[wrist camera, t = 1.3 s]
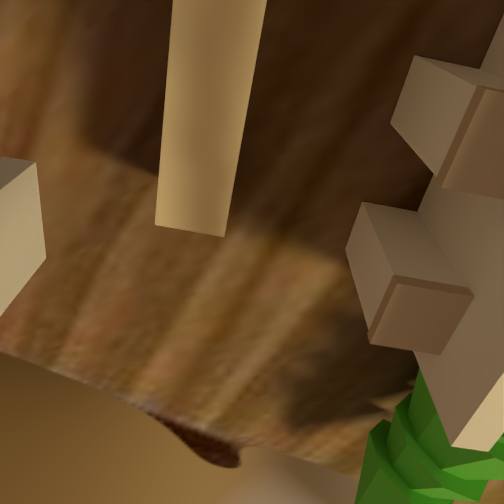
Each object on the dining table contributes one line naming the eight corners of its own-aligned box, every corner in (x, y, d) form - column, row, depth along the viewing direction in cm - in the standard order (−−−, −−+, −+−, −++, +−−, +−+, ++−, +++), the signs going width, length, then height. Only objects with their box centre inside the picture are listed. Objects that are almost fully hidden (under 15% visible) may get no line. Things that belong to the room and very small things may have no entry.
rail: (173, 183, 30) (154, 224, 25) (203, -113, 22) (184, -142, 16) (231, 193, 30) (224, 237, 25) (282, -95, 22) (287, -117, 17)
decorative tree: (805, 390, 22) (399, 616, 35) (678, 300, 32) (402, 500, 45) (609, 249, 23) (286, 520, 36) (548, 206, 33) (314, 428, 46)
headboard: (443, -32, 23) (631, -43, 11) (550, -7, 24) (841, 8, 12) (334, 273, 34) (372, 435, 22) (410, 286, 34) (488, 451, 22)
